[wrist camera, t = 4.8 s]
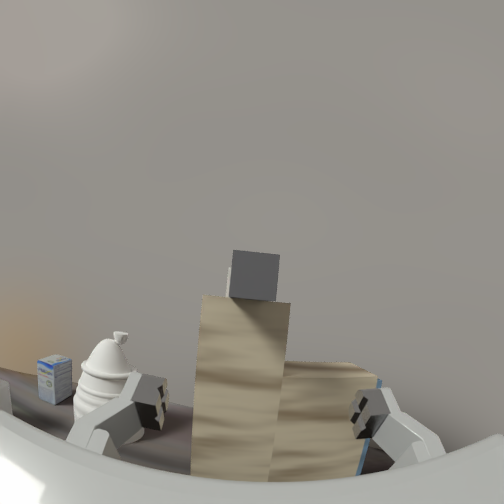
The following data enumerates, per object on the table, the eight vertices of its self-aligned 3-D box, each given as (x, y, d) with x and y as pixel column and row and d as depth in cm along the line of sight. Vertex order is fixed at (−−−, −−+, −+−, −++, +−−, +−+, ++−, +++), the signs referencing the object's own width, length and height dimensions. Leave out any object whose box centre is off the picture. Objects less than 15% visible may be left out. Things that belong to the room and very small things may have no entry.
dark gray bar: (286, 302, 18) (291, 246, 19) (217, 295, 18) (223, 239, 19) (259, 301, 38) (262, 274, 39) (226, 297, 38) (229, 270, 39)
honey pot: (139, 415, 48) (142, 330, 51) (150, 446, 36) (152, 343, 40) (77, 409, 42) (76, 321, 45) (72, 440, 31) (68, 332, 34)
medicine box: (57, 390, 47) (56, 353, 49) (73, 395, 48) (72, 358, 49) (38, 399, 39) (36, 359, 41) (55, 406, 40) (53, 365, 41)
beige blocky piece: (347, 511, 22) (390, 309, 27) (190, 513, 22) (202, 294, 26) (329, 481, 30) (359, 308, 35) (197, 479, 30) (210, 295, 34)
